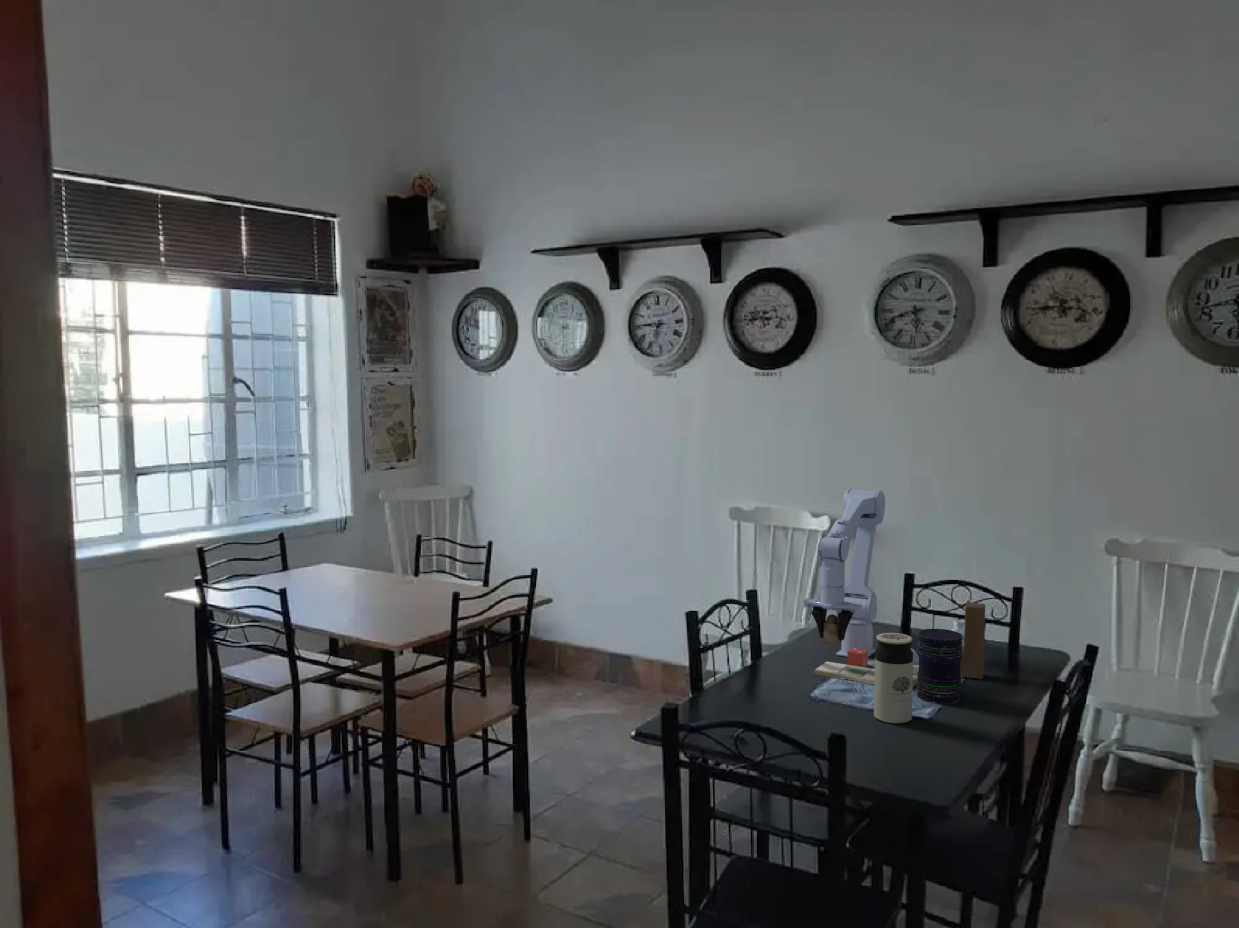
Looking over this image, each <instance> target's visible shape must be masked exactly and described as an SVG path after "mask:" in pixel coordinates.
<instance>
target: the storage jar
mask: <svg viewBox="0 0 1239 928" xmlns="http://www.w3.org/2000/svg"><path fill="white" fill-rule="evenodd" d="M962 640H963V634H962V633H960V632H958V631H955V630H950V629H945V628H944V629H943V628H926V629H921V630H919V631H918V639H917V641H918V642H917V654H918V657H919V671H918V675H917V678H918V679H917V684H916V686H917V687H916V688H917V693H916V696H918V697H917V698H918V699H919V698H920V699H919V700H921V701H924V702H926V703H929V702H935V703H941V704H940V705H953V704H957V703H960V702H961V700H962V699H961V692H962V691H961V690H962V677H961V675H960V663H961V660H962V648H963V641H962ZM935 703H934V704H935Z"/></svg>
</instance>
